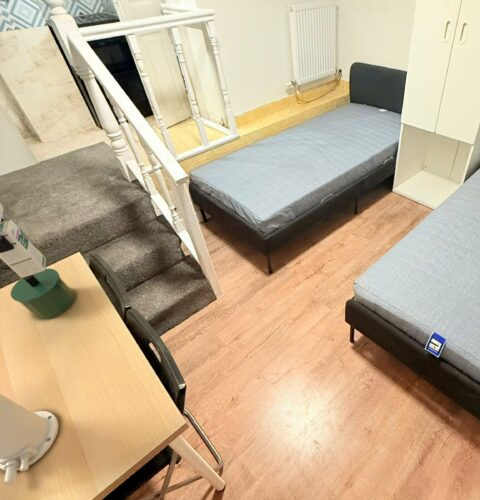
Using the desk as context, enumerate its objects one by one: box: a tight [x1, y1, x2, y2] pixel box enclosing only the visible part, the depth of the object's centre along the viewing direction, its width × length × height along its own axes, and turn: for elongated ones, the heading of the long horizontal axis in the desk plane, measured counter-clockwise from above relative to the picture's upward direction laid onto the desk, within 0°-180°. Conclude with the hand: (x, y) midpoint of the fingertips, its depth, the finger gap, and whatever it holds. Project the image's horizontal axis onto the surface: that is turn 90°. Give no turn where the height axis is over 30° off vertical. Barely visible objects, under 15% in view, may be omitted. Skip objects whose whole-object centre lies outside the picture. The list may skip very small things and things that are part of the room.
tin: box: [19, 277, 76, 320], centre depth 104 cm, size 12×12×10 cm
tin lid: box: [10, 268, 61, 303], centre depth 100 cm, size 13×13×5 cm
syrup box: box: [0, 218, 47, 279], centre depth 86 cm, size 6×6×14 cm
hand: (8, 241), depth 84 cm, fingers closed on syrup box, 5 cm apart
